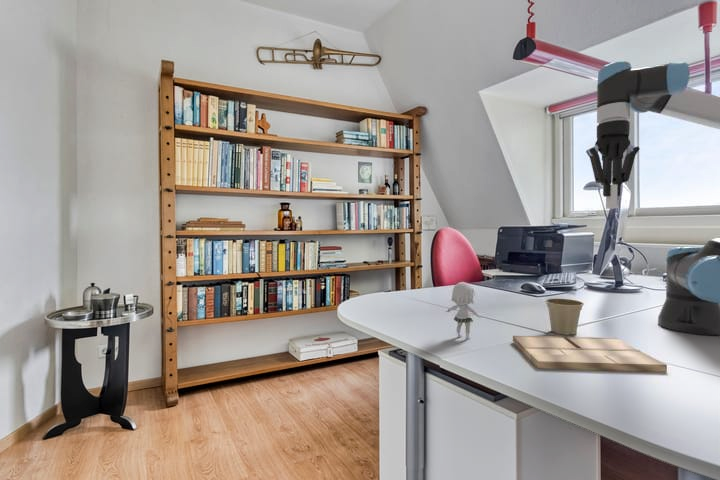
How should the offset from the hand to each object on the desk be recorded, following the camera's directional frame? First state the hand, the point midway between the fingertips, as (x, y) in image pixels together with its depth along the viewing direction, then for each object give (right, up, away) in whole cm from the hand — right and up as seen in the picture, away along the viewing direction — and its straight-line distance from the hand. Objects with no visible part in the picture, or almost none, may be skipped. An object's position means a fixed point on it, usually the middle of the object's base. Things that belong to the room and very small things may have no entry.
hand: (611, 208), depth 104 cm
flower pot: (-13, -35, +1) cm, 37 cm away
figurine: (-43, -35, -5) cm, 55 cm away
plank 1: (-25, -35, -13) cm, 45 cm away
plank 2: (-12, -35, -14) cm, 40 cm away
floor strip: (-20, -35, -22) cm, 46 cm away
